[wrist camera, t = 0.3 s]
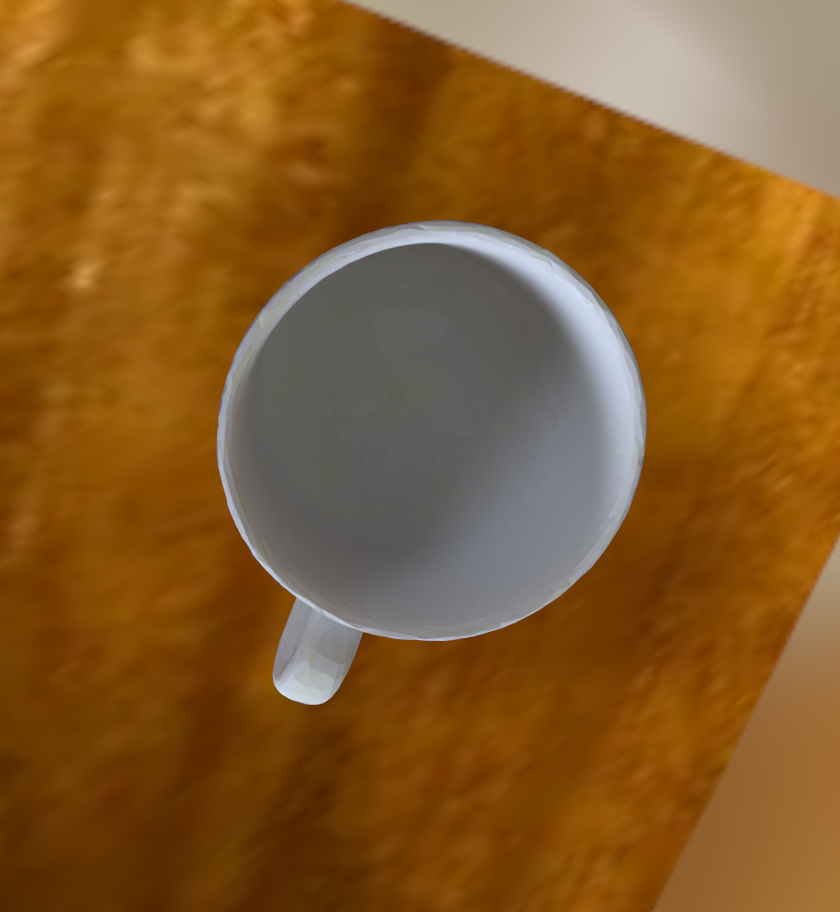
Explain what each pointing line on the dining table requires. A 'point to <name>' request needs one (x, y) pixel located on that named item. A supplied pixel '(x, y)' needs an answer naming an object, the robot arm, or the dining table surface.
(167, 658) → the dining table surface
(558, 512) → the teacup
